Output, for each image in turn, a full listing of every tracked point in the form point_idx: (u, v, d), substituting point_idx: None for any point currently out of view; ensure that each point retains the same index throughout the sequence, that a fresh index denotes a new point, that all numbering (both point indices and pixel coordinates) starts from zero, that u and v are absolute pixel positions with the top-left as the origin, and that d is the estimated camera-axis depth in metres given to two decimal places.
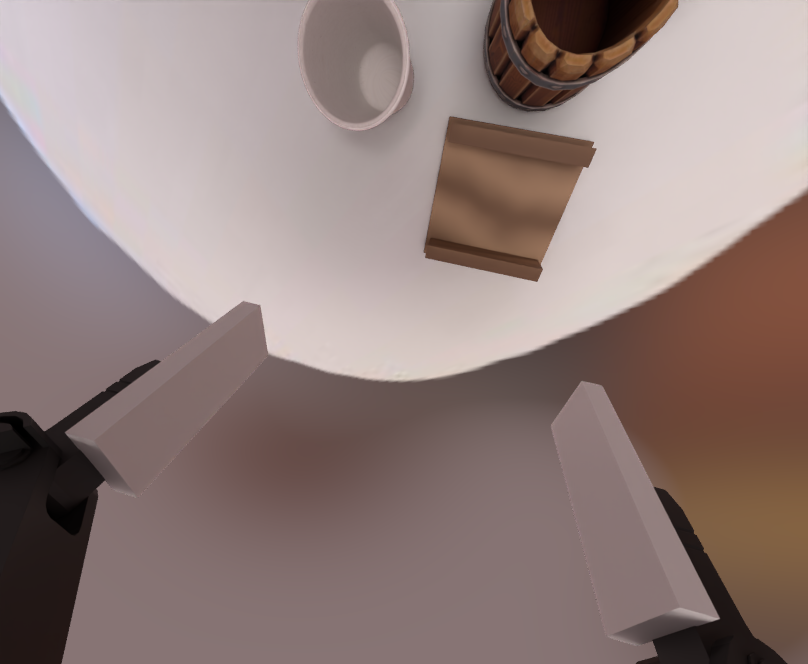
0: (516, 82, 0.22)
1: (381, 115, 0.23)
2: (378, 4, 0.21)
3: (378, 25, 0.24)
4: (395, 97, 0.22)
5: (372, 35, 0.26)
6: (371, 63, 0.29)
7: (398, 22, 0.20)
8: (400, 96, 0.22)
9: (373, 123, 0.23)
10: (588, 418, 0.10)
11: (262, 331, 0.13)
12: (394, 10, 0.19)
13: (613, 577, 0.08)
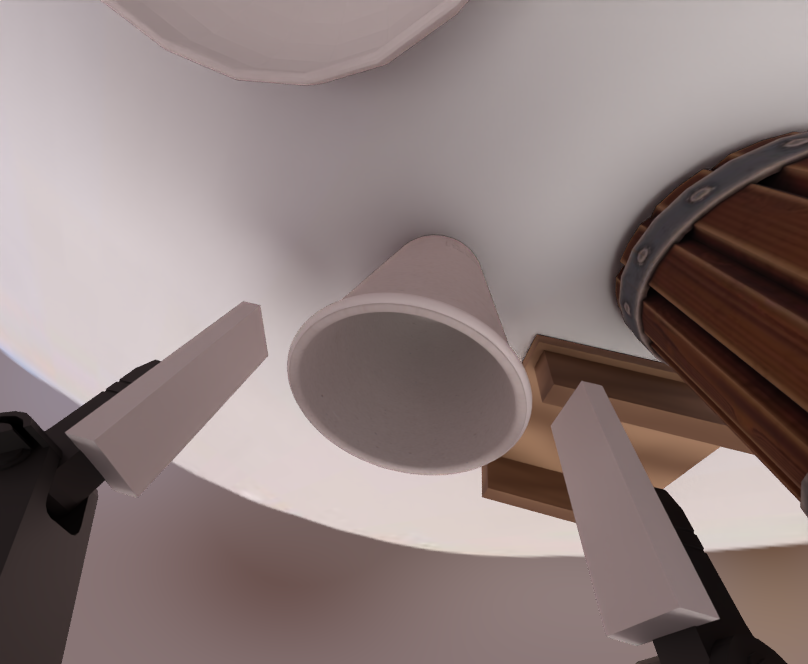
0: (740, 439, 0.10)
1: (453, 471, 0.12)
2: None
3: None
4: (486, 460, 0.11)
5: None
6: None
7: (517, 384, 0.08)
8: (496, 458, 0.11)
9: (435, 474, 0.12)
10: (589, 418, 0.10)
11: (262, 331, 0.13)
12: (511, 366, 0.08)
13: (613, 577, 0.08)
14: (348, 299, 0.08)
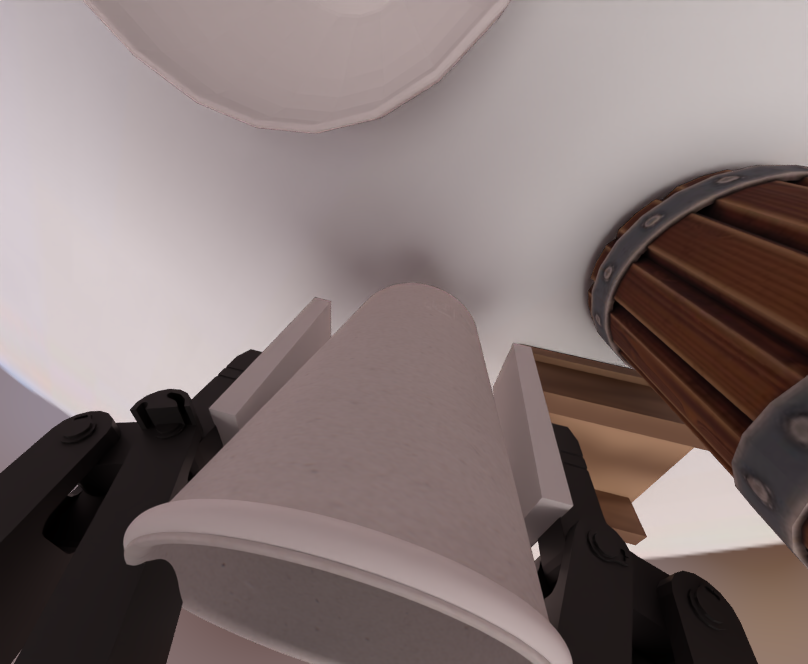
0: None
1: None
2: None
3: None
4: None
5: None
6: None
7: None
8: None
9: None
10: (513, 372, 0.12)
11: (329, 325, 0.14)
12: (535, 651, 0.04)
13: None
14: (188, 514, 0.04)
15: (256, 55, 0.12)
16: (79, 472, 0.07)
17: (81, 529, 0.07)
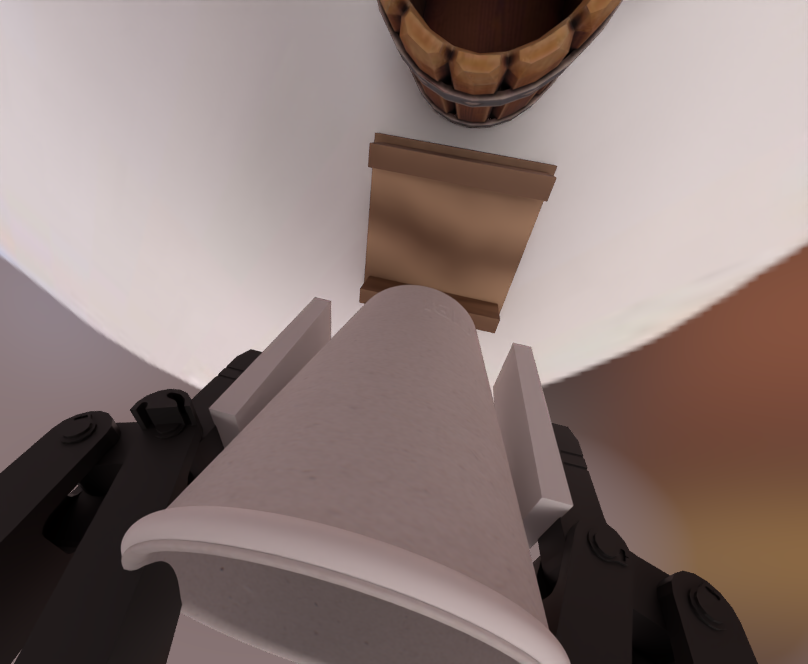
0: (432, 93, 0.15)
1: None
2: None
3: None
4: None
5: None
6: None
7: None
8: None
9: None
10: (513, 372, 0.12)
11: (330, 325, 0.14)
12: (535, 659, 0.04)
13: None
14: (185, 521, 0.04)
15: None
16: (79, 472, 0.07)
17: (81, 529, 0.07)
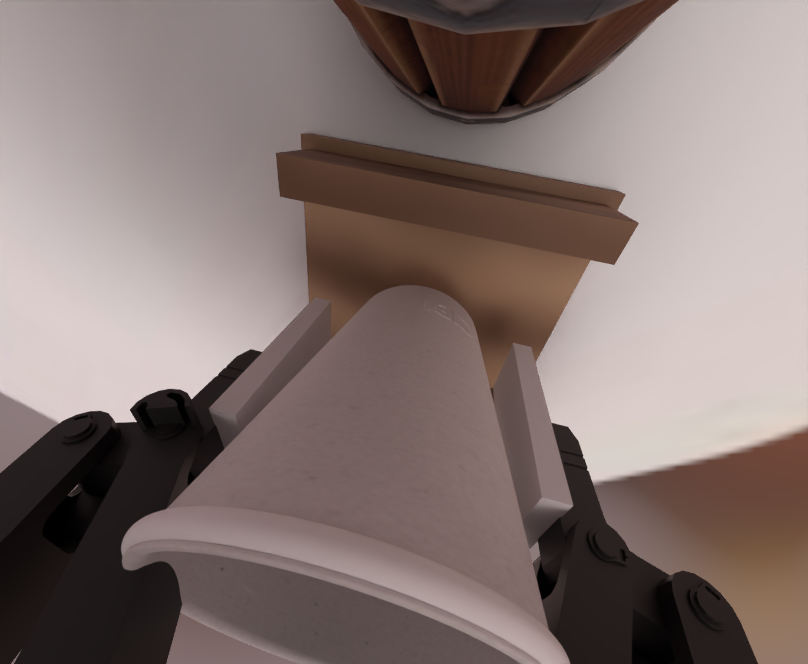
0: (357, 26, 0.06)
1: None
2: None
3: None
4: None
5: None
6: None
7: None
8: None
9: None
10: (514, 372, 0.12)
11: (330, 325, 0.14)
12: (534, 659, 0.04)
13: None
14: (186, 522, 0.04)
15: None
16: (79, 472, 0.07)
17: (81, 529, 0.07)
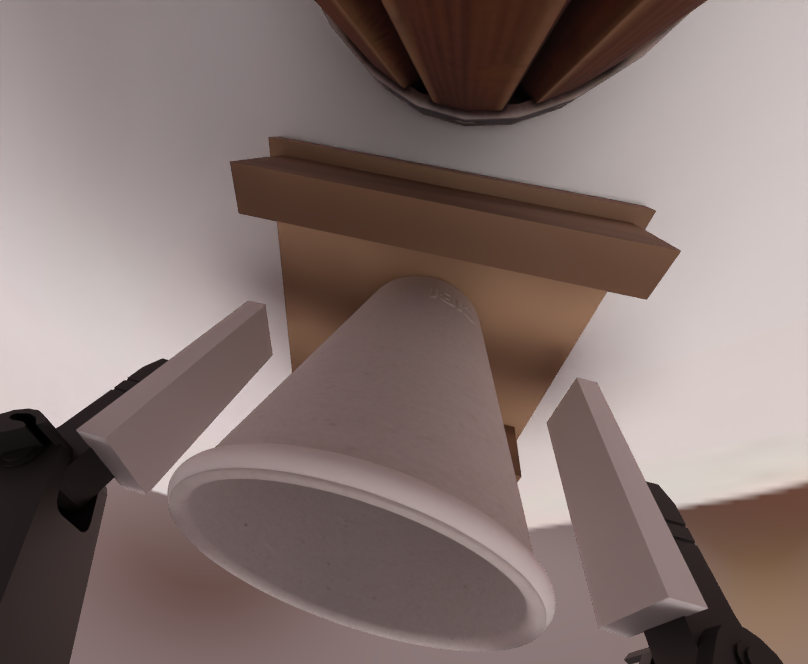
0: None
1: (432, 645, 0.08)
2: None
3: None
4: (480, 648, 0.07)
5: None
6: None
7: (531, 599, 0.05)
8: None
9: (407, 640, 0.08)
10: (584, 414, 0.10)
11: (267, 330, 0.13)
12: (520, 574, 0.05)
13: (606, 570, 0.08)
14: (231, 453, 0.05)
15: None
16: None
17: None
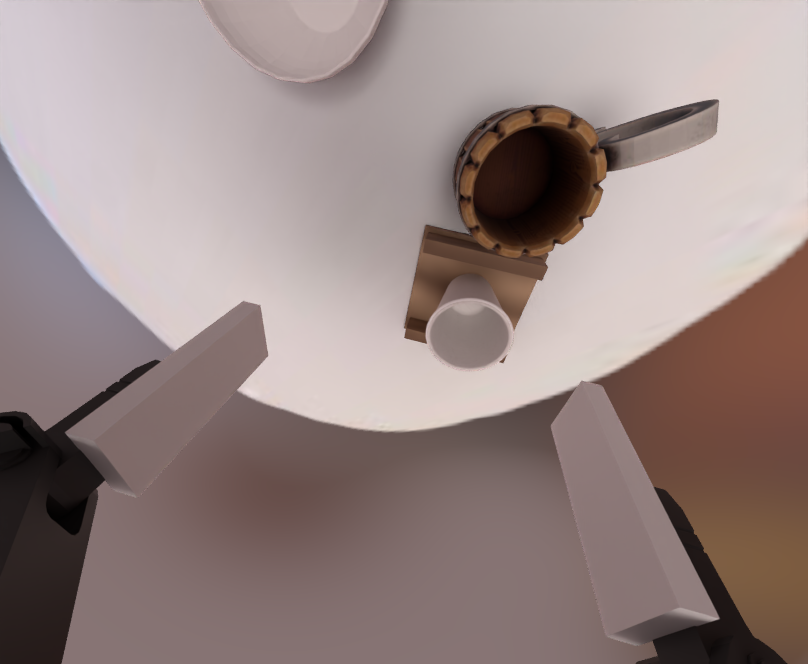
0: None
1: (484, 367, 0.30)
2: None
3: None
4: (497, 360, 0.29)
5: None
6: None
7: (509, 327, 0.27)
8: (501, 359, 0.29)
9: (476, 370, 0.31)
10: (589, 418, 0.10)
11: (262, 331, 0.13)
12: (507, 320, 0.27)
13: (613, 577, 0.08)
14: (458, 299, 0.27)
15: (278, 50, 0.26)
16: None
17: None
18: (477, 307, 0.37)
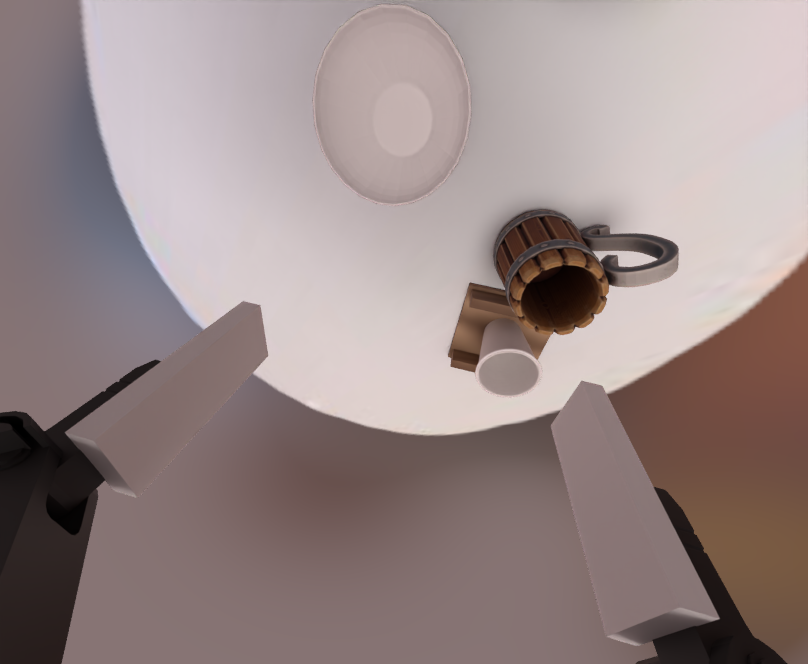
0: None
1: (519, 395, 0.41)
2: (524, 350, 0.38)
3: None
4: (529, 390, 0.40)
5: None
6: None
7: (538, 368, 0.38)
8: (532, 389, 0.40)
9: (513, 396, 0.41)
10: (589, 418, 0.10)
11: (262, 331, 0.13)
12: (537, 364, 0.37)
13: (613, 577, 0.08)
14: (501, 349, 0.37)
15: (371, 175, 0.36)
16: None
17: None
18: None
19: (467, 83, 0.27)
